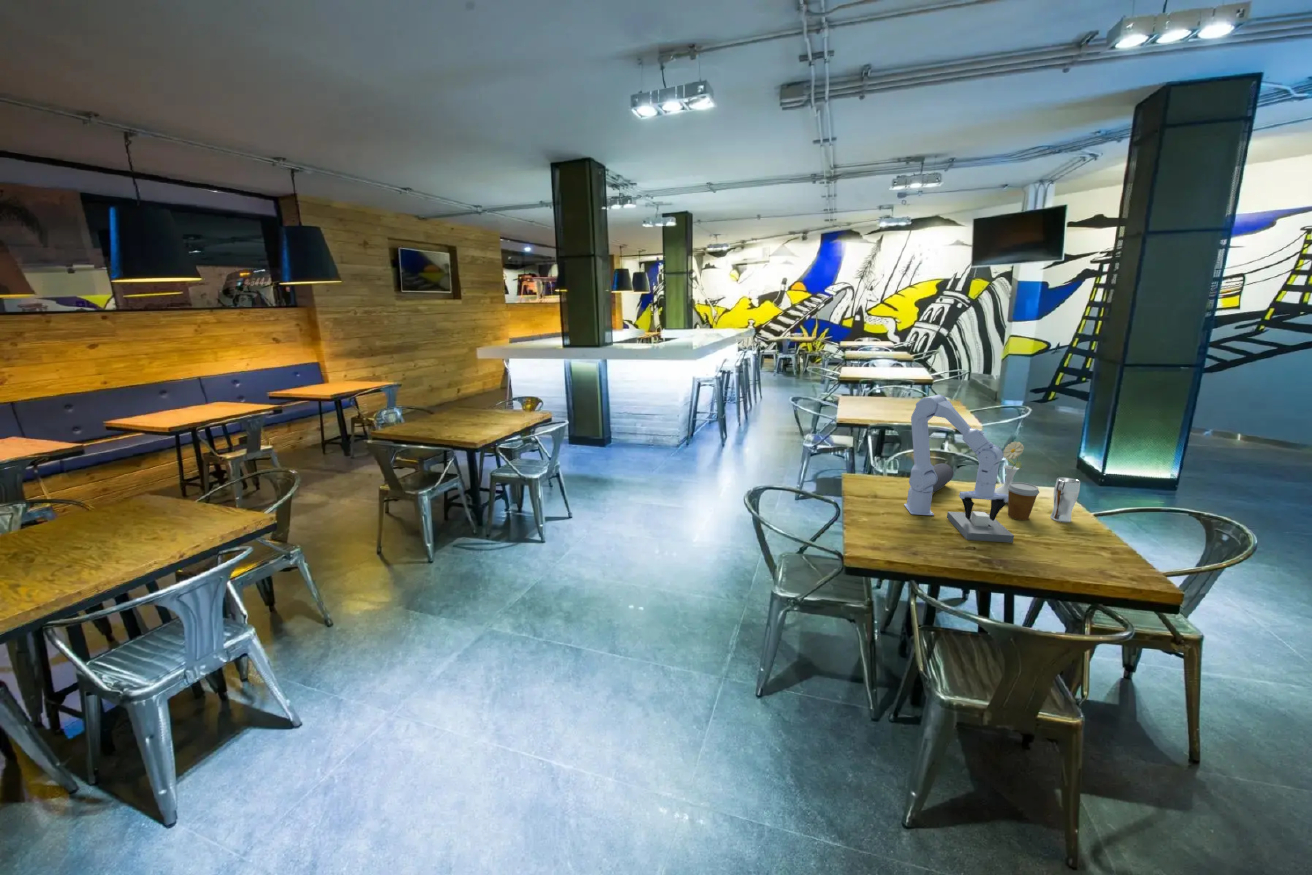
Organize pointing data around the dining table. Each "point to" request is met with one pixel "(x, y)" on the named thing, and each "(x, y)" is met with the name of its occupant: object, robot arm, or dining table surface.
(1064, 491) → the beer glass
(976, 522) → the plug block
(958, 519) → the socket plate
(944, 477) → the bluetooth speaker
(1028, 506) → the disposable coffee cup
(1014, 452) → the flower in vase
